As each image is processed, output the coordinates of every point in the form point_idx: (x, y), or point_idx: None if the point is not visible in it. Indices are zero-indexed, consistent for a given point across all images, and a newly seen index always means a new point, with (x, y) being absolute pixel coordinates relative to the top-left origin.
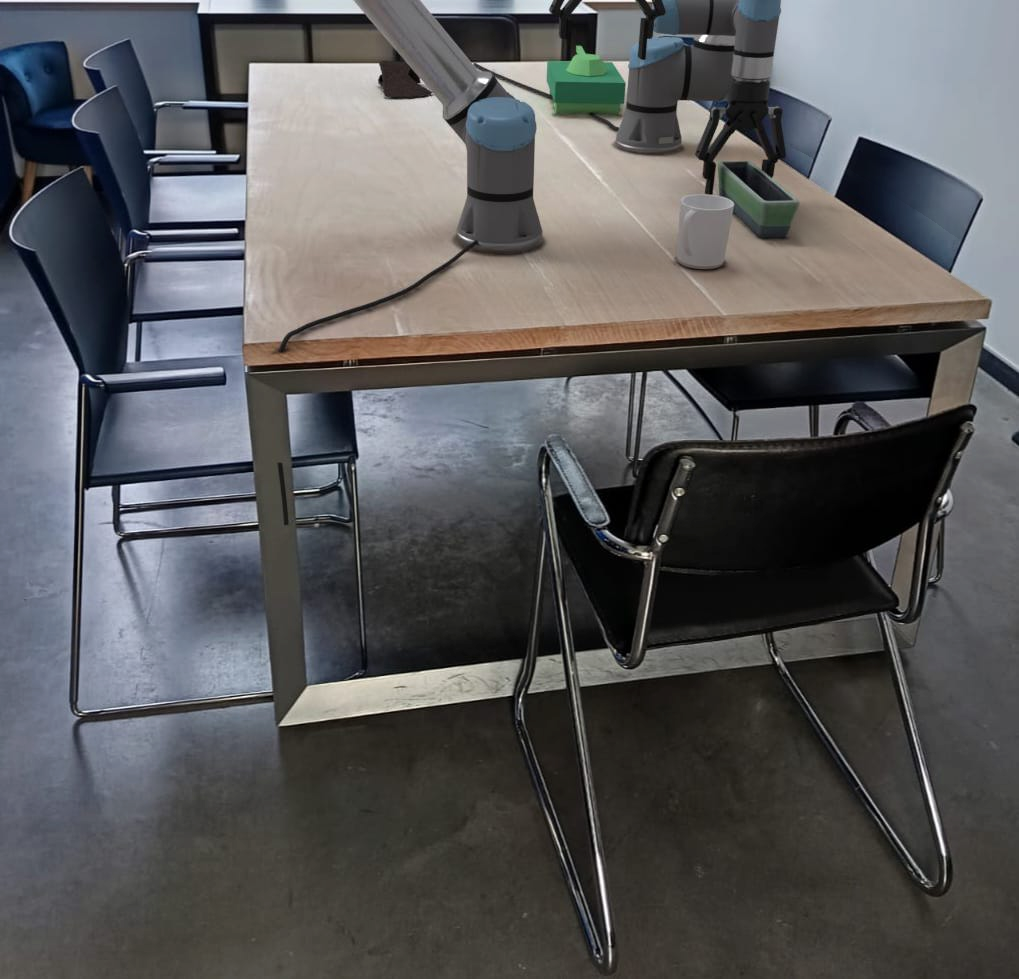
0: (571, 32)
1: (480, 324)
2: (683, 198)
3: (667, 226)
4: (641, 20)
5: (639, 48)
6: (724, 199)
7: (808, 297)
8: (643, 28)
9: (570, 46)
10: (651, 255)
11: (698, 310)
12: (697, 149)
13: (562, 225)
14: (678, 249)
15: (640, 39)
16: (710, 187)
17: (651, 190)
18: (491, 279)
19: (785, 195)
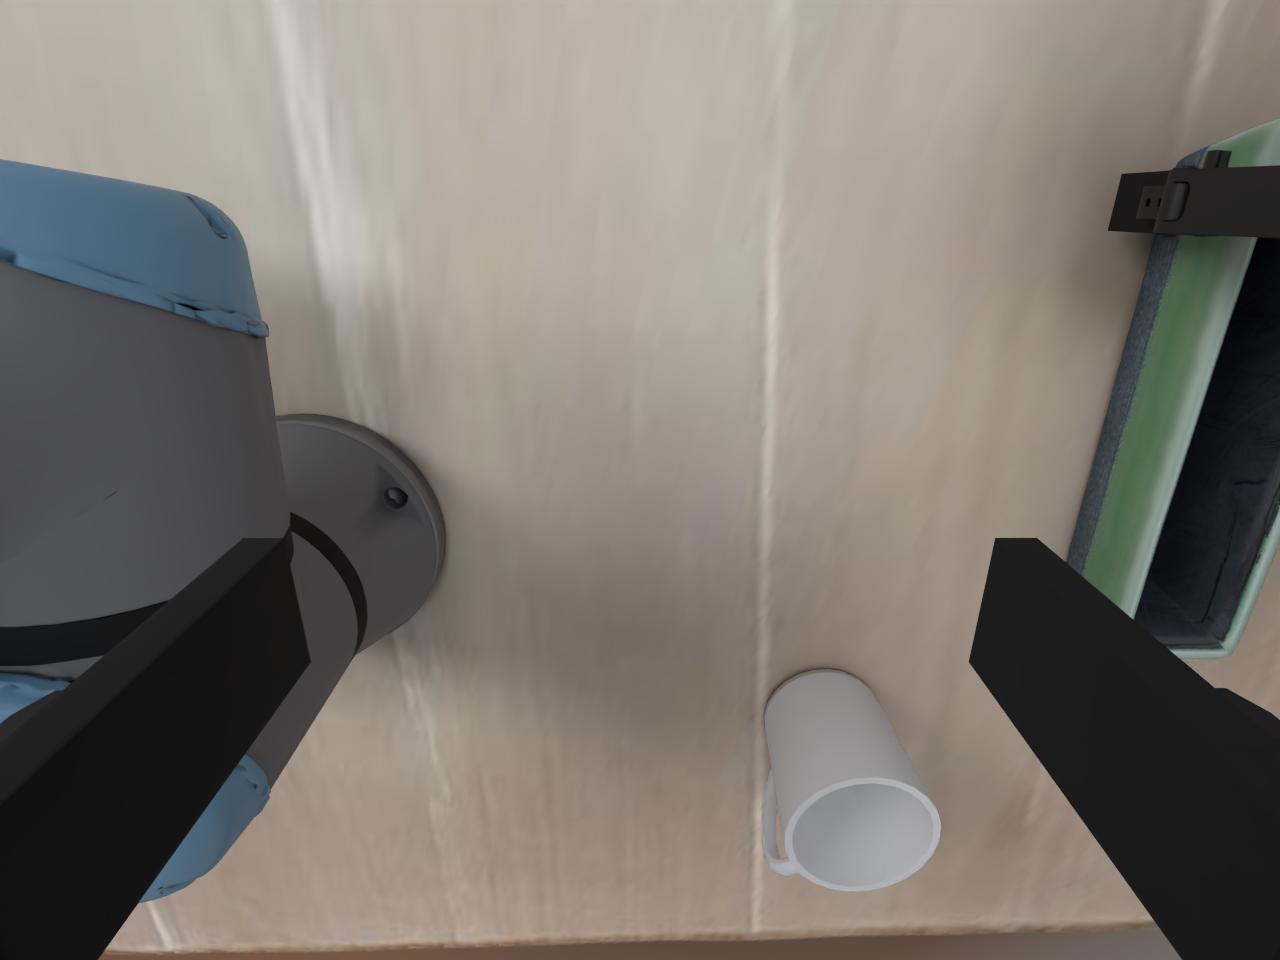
0: (158, 868)
1: (304, 927)
2: (806, 806)
3: (845, 452)
4: (1276, 865)
5: (1030, 626)
6: (929, 811)
7: (955, 884)
8: (1157, 890)
9: (245, 743)
10: (717, 660)
11: (714, 913)
12: (1194, 180)
13: (521, 414)
14: (767, 735)
15: (1085, 693)
16: (1134, 231)
17: (960, 5)
18: (315, 758)
19: (1245, 571)
